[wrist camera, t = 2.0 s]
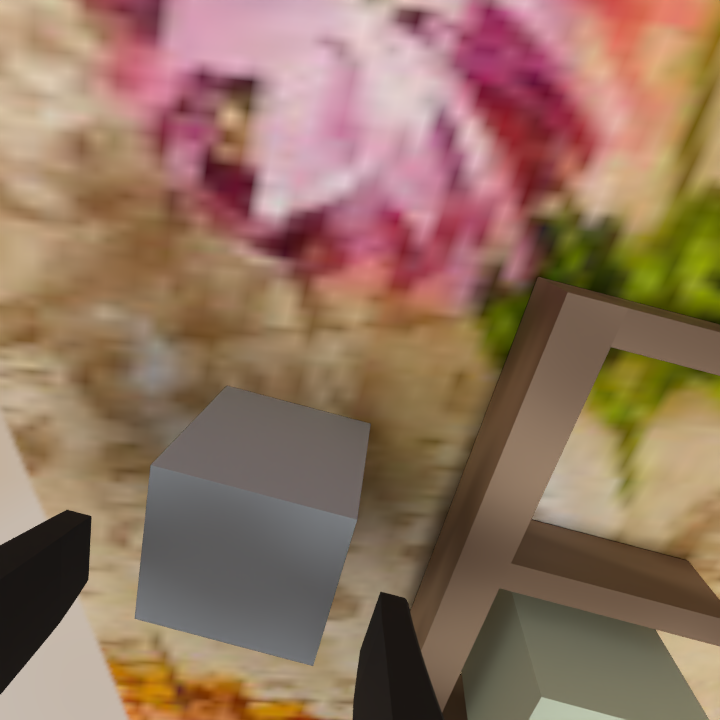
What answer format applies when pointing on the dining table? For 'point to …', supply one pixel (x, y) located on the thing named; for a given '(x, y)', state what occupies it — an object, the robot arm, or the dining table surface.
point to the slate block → (252, 523)
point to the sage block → (570, 667)
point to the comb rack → (530, 477)
